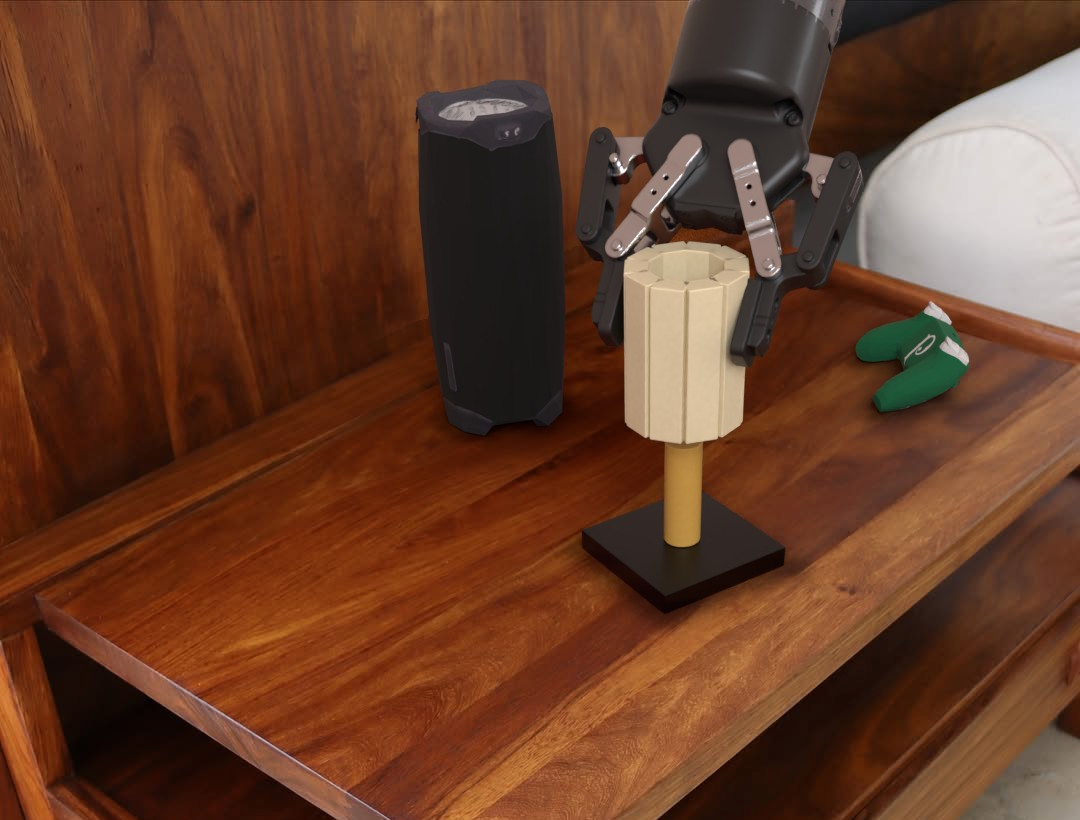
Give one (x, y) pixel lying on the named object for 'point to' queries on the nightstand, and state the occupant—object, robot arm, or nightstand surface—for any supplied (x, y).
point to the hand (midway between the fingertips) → (674, 350)
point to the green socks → (916, 358)
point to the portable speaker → (493, 252)
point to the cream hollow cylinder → (683, 341)
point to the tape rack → (682, 540)
